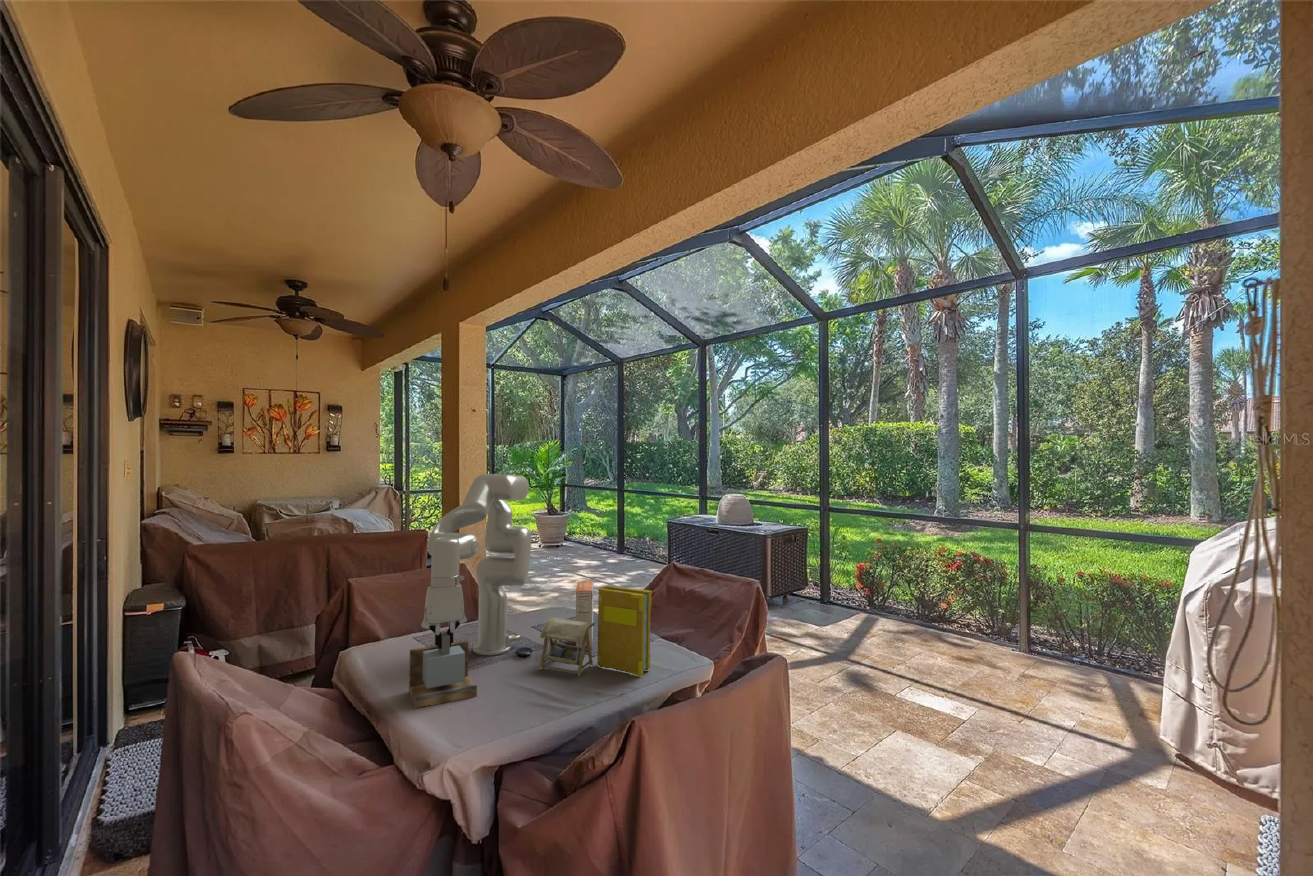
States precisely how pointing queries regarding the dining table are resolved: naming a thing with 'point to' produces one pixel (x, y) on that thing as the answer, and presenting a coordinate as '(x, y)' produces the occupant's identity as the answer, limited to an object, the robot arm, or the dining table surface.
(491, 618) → the robot arm
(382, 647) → the dining table surface
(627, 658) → the book
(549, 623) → the swing bench
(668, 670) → the dining table surface
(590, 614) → the cracker box
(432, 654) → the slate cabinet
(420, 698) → the cleat board
